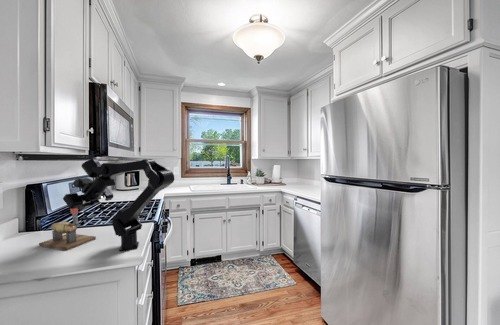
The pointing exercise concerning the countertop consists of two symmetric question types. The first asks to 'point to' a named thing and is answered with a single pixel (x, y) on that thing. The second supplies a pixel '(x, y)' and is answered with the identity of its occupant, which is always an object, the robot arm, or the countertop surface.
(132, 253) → the countertop surface
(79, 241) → the mounting board
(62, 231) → the valve body
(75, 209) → the valve lever
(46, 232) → the countertop surface
